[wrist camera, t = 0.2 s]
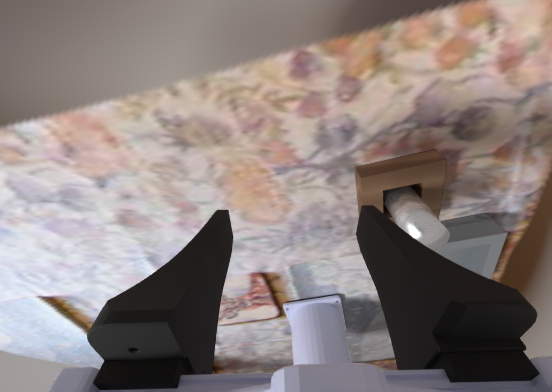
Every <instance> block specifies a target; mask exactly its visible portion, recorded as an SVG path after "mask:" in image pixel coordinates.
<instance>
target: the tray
mask: <svg viewBox="0 0 552 392" xmlns="http://www.w3.org/2000/svg"><path fill="white" fill-rule="evenodd" d="M441 223H442V224H443V225H444V226H445V227H446V228H447V230H448V231H449V233H450V238H449V240H448V242H447V243H446V244H445V245H444V246H443V247H441V248H440V249H438V250H436V251H435V252H436V253H438V254H440V255H442V256H443V257H445V258H447V259H449V260H451V261H453V262H455V263H456V264H458V265H460V266H462V267H464V268H466V269H468V270H471V271H473V272H475V273H477V274H479V275H482V276H484V277H486V278H489V279H491V278H492V275H493V272H494V270H495V267H496V264H497V261H498V259H499V256H500V253H501V250H502V248H503V245H504V242H505V239H506V237H507V234H508V232H507V231H506V230H505V229H503V228H502V227H501V226H500V225H499V224H498V223H497V222H495V221H494V220H493V219H492V218H491V217H490V216H489V215H488V214H486V213H484V214H478V215H473V216H467V217H462V218H457V219H451V220H446V221H441Z"/></svg>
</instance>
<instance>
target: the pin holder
mask: <svg viewBox="0 0 552 392" xmlns="http://www.w3.org/2000/svg"><path fill="white" fill-rule="evenodd" d="M446 165H447V159H446V158H445V157H443V156H442V155H441V154H440V153H438V152H437V151H436V150H430V151H426V152H421V153H417V154H412V155H408V156H403V157H399V158H394V159H390V160H385V161H381V162H376V163H372V164H367V165H363V166H358V167H355V175H356V187H357V198H358V210H359V216H360V211H361V206H362V205H374V206H375V207H376V208H377V209H379V210H380V211H381V212H382V213H383V214H384V215H386V216H387V217H388V218H389V219H390V220H392V221H393V222H394V223H395V224H396V222H395V220H394V219H393V217H392V215H391V214H390V212H389V211H388V209H387V207H386V206H385V205H383V191H384V190H388V189H393V188H398V187H403V186H408V185H411V187H412V188H413V190H414V191H415V192H416V193H417V194H418V195H419V197H420V198H421V199H422V200H423V201H424V203H425V204H426V205H427V206H428V207H429V208H430V210H431V211H432V212H433V213H434V214H435V215H436V217H437V218H438V219H439V213H440V207H441V200H442V193H443V186H444V179H445V172H446ZM396 225H397V224H396Z"/></svg>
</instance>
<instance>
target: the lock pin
mask: <svg viewBox="0 0 552 392" xmlns="http://www.w3.org/2000/svg"><path fill="white" fill-rule="evenodd" d="M383 202H384V204H385V206H386V207H387V209H388V211H389V212H390V214H391V215H392V217H393V219H394V220H395V222H396V224H397V225H398V226H399V227H400V228H401V229H403V230H404V231H405V232H407V233H408V234H409V235H411V236H412V237H414V238H415V239H416V240H418V241H419V242H421V243H422V244H424V245H425V246H427V247H428V248H430V249H432V250H433V251H436V250H438V249H440V248H441V247H443V246H444V245H445V244H446V243H447V242H448V240H449V238H450V233H449V231H448V230H447V228H446V227H445V226H444V225H443V224H442V223H441V221H440V220H439V219H438V218H437V217H436V215H435V214H434V213H433V212H432V211H431V210H430V208H429V207H428V206H427V205H426V204H425V203H424V201H423V200H422V199H421V198H420V197H419V195H418V194H417V193H416V192H415V191H414V190H413V188H412V187H411V186H410V185H408V186H403V187H398V188H393V189H388V190H384V191H383Z"/></svg>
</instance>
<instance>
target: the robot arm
mask: <svg viewBox="0 0 552 392" xmlns="http://www.w3.org/2000/svg"><path fill="white" fill-rule="evenodd" d="M356 236H357V240H358V244H359V247H360V251H361V253H362V256H363V258H364V260H365V263H366V265H367V268H368V270H369V272H370V275H371V277H372V280H373V282H374V284H375V287H376V290H377V292H378V295H379V298H380V302H381V305H382V309H383V312H384V316H385V319H386V323H387V326H388V330H389V334H390V338H391V342H392V346H393V350H394V354H395V359H396V363H397V368H398V370H386V371H383V370H382V369H380V368H379V367H377V366H375V365H373V364H365V363H352V361H351V357H350V352H349V348H348V344H347V339H346V335H345V332H346V331H347V330H346V325H345V320H344V314H343V309H342V303H341V298H340V296H339V295H334V296H328V297H321V298H315V299H309V300H302V301H296V302H289V303H285V304H283V308H284V311H285V313H286V315H287V318H288V320H289V323H290V325H291V329H292V346H293V363H294V365H290V366H285V367H283V368H281V369H278V370H276V372H275V373H253V374H212V373H213V362H214V352H215V342H216V333H217V325H218V317H219V310H220V302H221V296H222V291H223V287H224V283H225V279H226V275H227V270H228V266H229V262H230V258H231V253H232V245H233V233H232V228H231V222H230V216H229V211H228V210H217V211H216V212H215V213H214V214H213V215H212V217H211V218H210V219H209V221H208V222H207V223H206V224H205V225H204V227H203V228H202V229H201V230H200V231H199V232H198V234H197V235H196V236H195V237H194V238H193V239H192V240H191V241H190V242H189V243H188V244H187V245H186V246H185V247H184V248H183V249H182V250H181V251H180V252H179V253H178V254H177V255H176V256H175V257H174V258H172V259H171V260H170V261H169V262H168V263H166V264H165V265H164V266H162V267H161V268H160V269H158V270H157V271H156V272H154V273H153V274H152V275H150V276H149V277H147V278H146V279H144V280H143V281H141V282H140V283H138V284H136V285H135V286H133V287H131V288H130V289H128V290H126V291H124V292H123V293H121V294H119V295H117V296H116V297H114V298H112V299H110V300H108V301H107V303H106V304H105V306H104V307H103V309H102V310H101V312H100V313H99V315H98V317H97V318H96V320H95V322H94V324H93V325H92V327H91V329H90V330H89V332H88V334H87V339H88V342H89V343H90V345H91V346H92V347H93V348H94V349H95V351H96V352H97V353H98V354H99V355H100V356H101V357H102V358H103V359H104V360H105V361H104V363H103V364H102V366H101V368H100V370H99V369H97V368H92V367H75V368H63V369H61V370H60V372H59V373H58V375H57V376H56V378H55V380H54V381H53V383H52V385H51V386H50V388H49V389H48V391H47V392H552V357H536V358H533V359H530V360H529V358H528V357H527V356H526V355H525V353H524V352H523V351H525V350H526V346H525V345H524V344H523V342H522V341H521V339H520V337H521V336H522V335H523V334H524V333H525V332H526V331H527V330H528V329H529V328H530V327H531V326H532V325H533V324H534V323H535V321H536V318H537V312H536V310H535V309H534V308H533V306H532V305H531V304H530V303H529V302H528V301H527V300H526V299H525V298H524V297H523V296H522V295H521V293H520V292H519V291H517V289H514V288H511V287H509V286H506V285H504V284H501V283H499V282H496V281H494V280H491V279H489V278H486V277H484V276H482V275H479V274H477V273H475V272H473V271H471V270H468V269H466V268H464V267H462V266H460V265H458V264H456V263H455V262H453V261H451V260H449V259H447V258H445V257H443V256H442V255H440V254H438V253H436V252H435V251H433V250H432V249H430V248H428V247H427V246H425V245H424V244H422V243H421V242H419V241H418V240H416V239H415V238H414V237H412V236H411V235H409V234H408V233H407V232H405V231H404V230H403V229H401V228H400V227H399V226H398V225H396V224H395V223H394V222H393V221H392V220H390V219H389V218H388V217H387V216H386V215H384V214H383V213H382V212H381V211H380V210H379V209H377V208H376V207H375V206H374V205H362V206H361V211H360V216H359V221H358V226H357V232H356Z"/></svg>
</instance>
